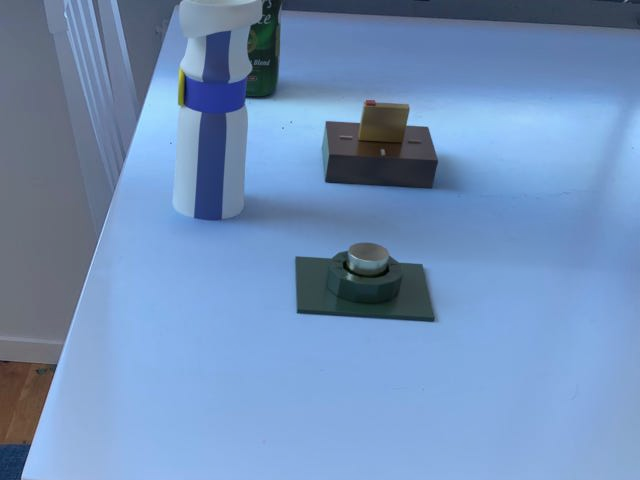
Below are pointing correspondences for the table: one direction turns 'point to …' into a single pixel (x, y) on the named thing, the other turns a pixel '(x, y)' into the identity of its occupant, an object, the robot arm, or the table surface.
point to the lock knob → (383, 121)
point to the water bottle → (213, 107)
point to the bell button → (367, 260)
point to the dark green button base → (361, 290)
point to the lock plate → (378, 157)
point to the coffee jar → (264, 50)
